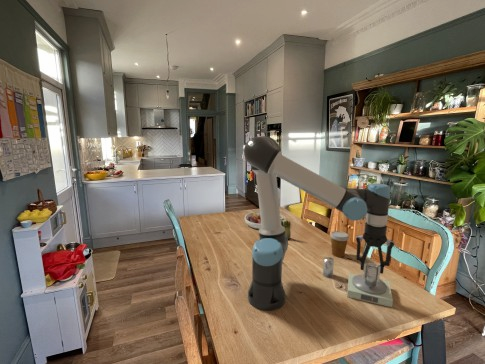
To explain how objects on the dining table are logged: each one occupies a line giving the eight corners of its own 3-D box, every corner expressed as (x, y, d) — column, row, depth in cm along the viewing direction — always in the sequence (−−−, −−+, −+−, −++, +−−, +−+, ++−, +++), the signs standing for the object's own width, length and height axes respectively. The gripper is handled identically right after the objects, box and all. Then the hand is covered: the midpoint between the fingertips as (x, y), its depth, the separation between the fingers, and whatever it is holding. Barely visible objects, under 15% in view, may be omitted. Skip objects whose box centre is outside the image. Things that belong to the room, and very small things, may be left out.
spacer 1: (332, 278, 119) (333, 262, 117) (322, 276, 120) (323, 260, 119) (333, 273, 123) (334, 258, 121) (323, 271, 124) (324, 256, 123)
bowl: (263, 214, 211) (263, 205, 210) (293, 224, 190) (294, 214, 188) (236, 223, 191) (236, 213, 190) (266, 235, 170) (266, 223, 168)
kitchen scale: (392, 308, 99) (393, 298, 98) (347, 297, 105) (347, 288, 104) (388, 287, 112) (389, 279, 111) (348, 279, 118) (349, 271, 117)
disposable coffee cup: (350, 254, 142) (351, 233, 140) (343, 260, 135) (344, 239, 133) (333, 249, 148) (334, 229, 146) (325, 254, 142) (327, 234, 139)
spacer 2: (376, 287, 102) (378, 269, 100) (364, 285, 104) (366, 267, 102) (375, 282, 106) (377, 264, 104) (364, 279, 108) (365, 261, 106)
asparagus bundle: (279, 238, 164) (280, 220, 162) (284, 236, 167) (284, 218, 165) (287, 240, 160) (287, 222, 158) (291, 238, 163) (292, 220, 161)
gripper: (400, 223, 100) (394, 278, 104) (351, 217, 107) (347, 269, 111) (403, 230, 93) (396, 288, 97) (351, 223, 100) (347, 278, 104)
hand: (370, 278), depth 104 cm, fingers closed on spacer 2, 4 cm apart
